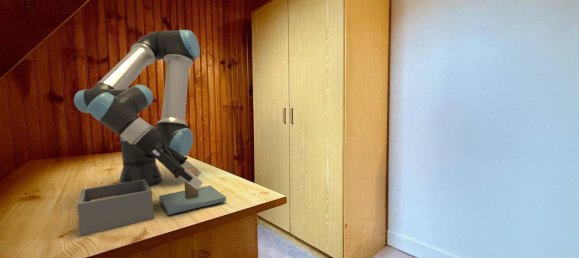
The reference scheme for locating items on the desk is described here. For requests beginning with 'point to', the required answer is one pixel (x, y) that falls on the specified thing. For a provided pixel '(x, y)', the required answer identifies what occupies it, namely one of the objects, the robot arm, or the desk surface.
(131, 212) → the storage box
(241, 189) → the desk surface
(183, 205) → the lid
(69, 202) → the desk surface
